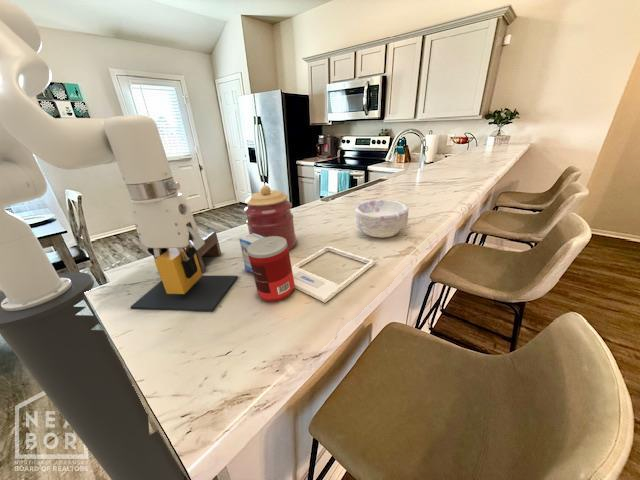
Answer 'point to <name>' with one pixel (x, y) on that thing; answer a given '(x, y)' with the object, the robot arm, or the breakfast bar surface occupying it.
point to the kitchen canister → (270, 215)
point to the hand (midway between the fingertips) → (181, 273)
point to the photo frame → (319, 285)
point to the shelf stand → (208, 249)
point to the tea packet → (175, 272)
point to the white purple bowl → (381, 217)
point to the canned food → (271, 268)
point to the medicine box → (244, 244)
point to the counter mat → (188, 295)
